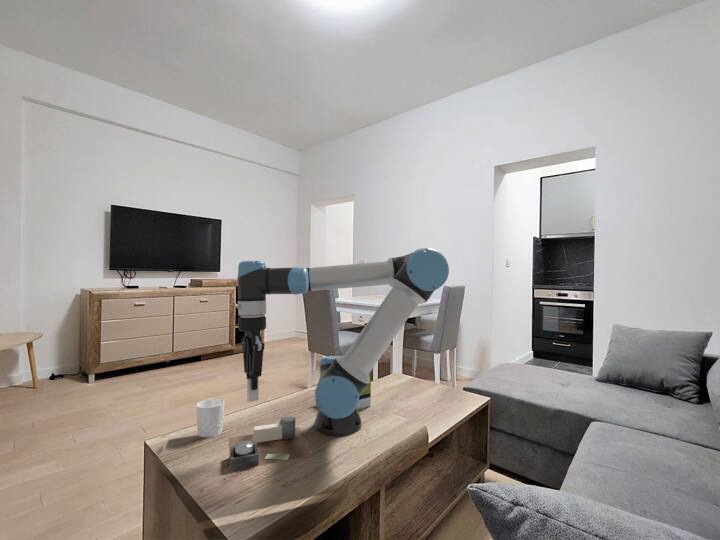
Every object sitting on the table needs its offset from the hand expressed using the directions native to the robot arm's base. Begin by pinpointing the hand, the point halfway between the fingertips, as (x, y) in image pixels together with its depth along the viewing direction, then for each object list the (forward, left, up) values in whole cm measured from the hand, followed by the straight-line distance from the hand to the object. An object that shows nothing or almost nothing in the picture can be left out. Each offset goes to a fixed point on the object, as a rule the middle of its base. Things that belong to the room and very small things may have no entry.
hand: (252, 400), depth 95 cm
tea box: (-38, -25, -14) cm, 47 cm away
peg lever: (-6, -2, -12) cm, 14 cm away
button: (+2, +7, -12) cm, 14 cm away
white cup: (+11, -14, -14) cm, 23 cm away
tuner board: (-4, +1, -14) cm, 15 cm away
